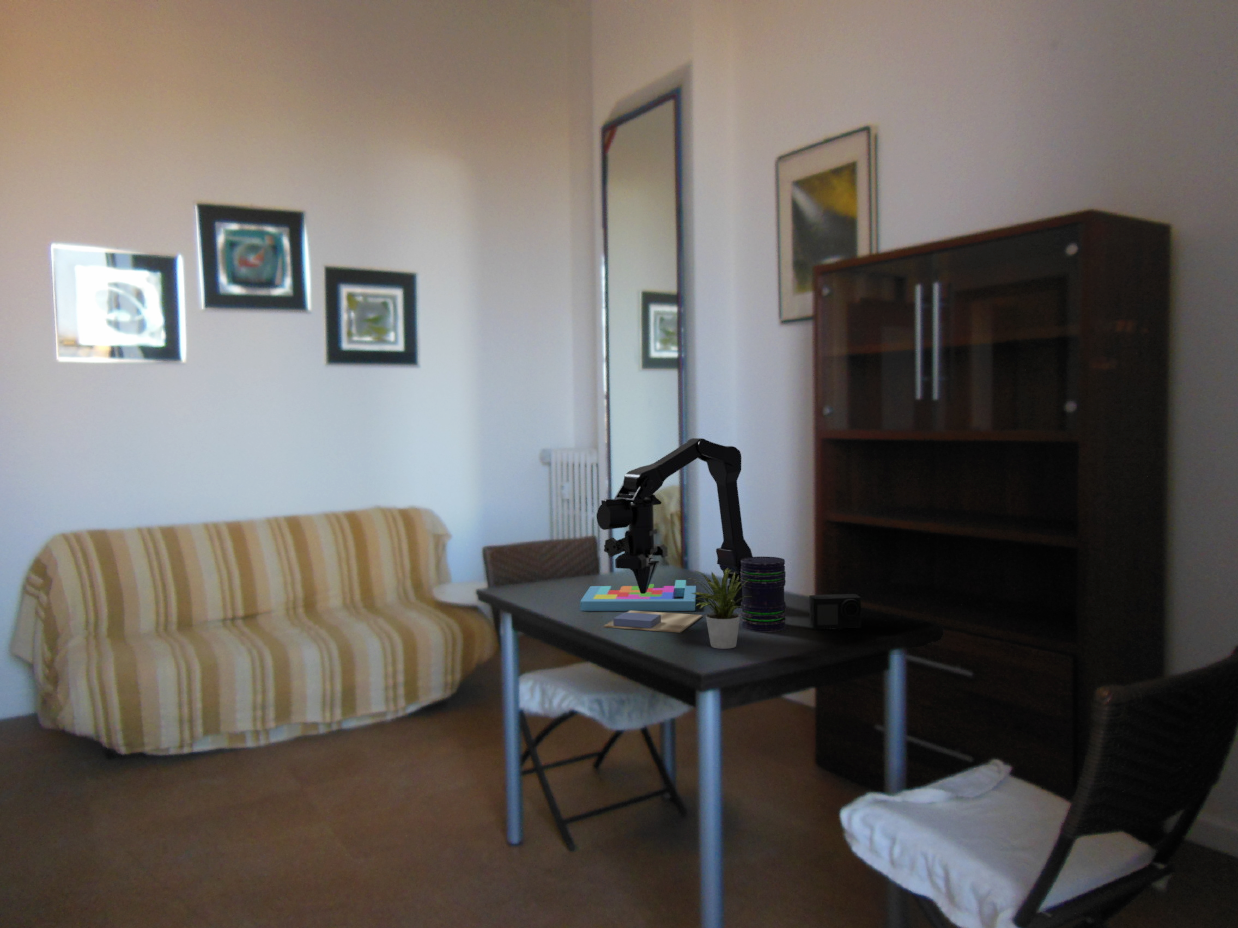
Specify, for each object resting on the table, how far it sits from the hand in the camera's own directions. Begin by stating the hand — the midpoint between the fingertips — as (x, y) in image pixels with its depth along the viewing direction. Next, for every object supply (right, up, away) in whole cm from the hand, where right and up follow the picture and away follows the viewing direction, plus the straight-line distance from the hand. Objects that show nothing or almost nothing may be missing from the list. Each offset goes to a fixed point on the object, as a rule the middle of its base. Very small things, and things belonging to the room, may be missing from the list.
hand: (643, 593), depth 205 cm
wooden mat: (+2, -7, +1) cm, 7 cm away
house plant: (+15, -8, -20) cm, 26 cm away
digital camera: (+42, -7, -9) cm, 43 cm away
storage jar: (+27, -7, -6) cm, 28 cm away
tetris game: (0, -6, +27) cm, 28 cm away
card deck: (0, -6, +1) cm, 6 cm away
